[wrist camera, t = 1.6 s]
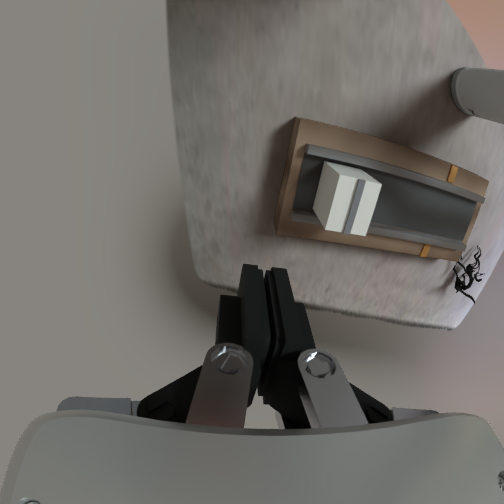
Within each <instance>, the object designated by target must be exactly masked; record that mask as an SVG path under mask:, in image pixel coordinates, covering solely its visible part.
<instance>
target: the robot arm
mask: <svg viewBox="0 0 504 504" xmlns="http://www.w3.org/2000/svg"><path fill="white" fill-rule="evenodd" d="M257 388H258V396H263V403H264V404H270V406H271V407H272V408H274V409H275V410H276V413H275V414H276V420H277V423H278V427H279V429H246V428H244V423H245V416H246V409H247V407H249V406H250V405H251V404H252V401H253V398H254V395H255V391H256V389H257ZM40 503H41V504H504V448H503V446H502V444H501V442H500V440H499V438H498V437H497V435H496V433H495V431H494V430H493V428H492V427H491V425H490V424H489V423H488V422H487V421H486V420H484V419H483V418H481V417H479V416H476V415H472V414H466V413H438V412H437V411H433V410H420V409H406V408H396V407H392V409H391V410H389V409H388V408H387V407H386V406H385V405H384V404H382V403H381V402H379V401H377V400H376V399H374V398H373V397H371V396H370V395H368V394H366V393H365V392H363V391H362V390H360V389H359V388H357V387H355V386H354V385H352V384H351V383H349V382H348V380H347V378H346V376H345V374H344V372H343V370H342V368H341V366H340V364H339V362H338V360H337V359H336V358H335V357H334V356H333V355H332V354H330V353H328V352H327V351H324V350H321V349H316V347H315V343H314V339H313V336H312V332H311V328H310V325H309V321H308V317H307V314H306V310H305V306H304V304H303V303H297V302H295V301H294V297H293V293H292V289H291V285H290V281H289V277H288V273H287V270H286V269H283V268H275V267H272V268H271V271H269V270H266V273H265V277H263V270H260V269H258V266H257V265H250V264H243V267H242V272H241V278H240V284H239V290H238V295H237V296H228V295H220V301H219V310H218V317H217V328H216V342H215V346H213V347H212V348H210V349H209V350H208V352H207V354H206V357H205V360H204V363H203V365H202V366H200V367H198V368H197V369H195V370H193V371H191V372H190V373H188V374H186V375H185V376H183V377H181V378H179V379H177V380H176V381H174V382H172V383H170V384H168V385H167V386H165V387H163V388H161V389H160V390H158V391H156V392H154V393H152V394H150V395H148V396H147V397H146V398H144V399H143V400H141V401H131V399H130V398H94V397H93V398H92V397H69V398H67V399H65V400H63V401H62V402H61V403H60V404H59V405H58V409H57V411H56V412H52V413H47V414H44V415H42V416H39V417H37V418H36V419H34V420H33V421H32V422H31V423H30V424H29V425H28V426H27V428H26V429H25V430H24V432H23V434H22V435H21V437H20V439H19V441H18V443H17V445H16V447H15V450H14V452H13V455H12V457H11V460H10V462H9V465H8V468H7V472H6V475H5V478H4V482H3V486H2V489H1V493H0V504H40Z"/></svg>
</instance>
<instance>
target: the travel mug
mask: <svg viewBox="0 0 504 504" xmlns="http://www.w3.org/2000/svg"><path fill="white" fill-rule="evenodd" d="M451 93H452V97H453V99H454V102H455V104H456V105H457V107H458V108H459V109H460V110H461V111H462V112H463V113H465V114H467V115H471V116H476V117H479V118H483V119H487V120H491V121H494V122H498V123H501V124H504V70H495V69H482V68H460V69H458V70H457V71H456V72H455V74H454V75H453V78H452V81H451Z"/></svg>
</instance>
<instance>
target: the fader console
mask: <svg viewBox="0 0 504 504" xmlns="http://www.w3.org/2000/svg"><path fill="white" fill-rule="evenodd" d="M324 161H327V162H331V163H336V164H340V165H345V166H349V167H353V168H357V169H361V170H363V171H364V172H366V173H367V174H368V175H370V176H371V177H373V178H374V179H375V180H377V181H378V182H379V183H381V184H382V186H381V189H380V193H379V196H378V199H377V202H376V206H375V209H374V212H373V215H372V218H371V221H370V224H369V227H368V230H367V233H366V236H361V235H355V234H350V235H348V234H344V233H343V232H336V231H330V230H325V229H324V227H323V225H322V224H321V222H320V220H319V218H318V217H317V215H316V213H315V212H314V210H313V205H314V201H315V197H316V193H317V189H318V185H319V181H320V177H321V173H322V168H323V164H324ZM488 183H489V181H488V180H486V179H484V178H482V177H480V176H478V175H476V174H474V173H472V172H470V171H467V170H465V169H463V168H461V167H458V166H456V165H453V164H451V163H448V162H446V161H443V160H441V159H438V158H436V157H433V156H431V155H428V154H425V153H422V152H420V151H417V150H414V149H411V148H408V147H405V146H402V145H399V144H396V143H393V142H390V141H387V140H384V139H381V138H377V137H374V136H371V135H367V134H364V133H360V132H357V131H353V130H349V129H345V128H342V127H338V126H334V125H330V124H325V123H321V122H317V121H312V120H308V119H303V118H298V117H295V120H294V125H293V130H292V135H291V140H290V145H289V150H288V155H287V160H286V165H285V170H284V175H283V180H282V185H281V189H280V194H279V199H278V204H277V209H276V213H275V218H274V226H275V230H276V234H279V235H287V236H294V237H301V238H308V239H315V240H322V241H329V242H336V243H342V244H349V245H356V246H362V247H369V248H375V249H382V250H388V251H395V252H401V253H407V254H413V255H420V256H422V257H432V258H438V259H444V260H450V261H455V262H458V261H459V259H460V256H461V254H462V252H463V251H465V249H466V247H467V246H466V243H467V240H468V238H469V235H470V233H471V231H472V228H473V225H474V223H475V220H476V218H477V215H478V212H479V210H480V207H481V204H483V203H484V200H485V198H484V195H485V192H486V189H487V186H488Z"/></svg>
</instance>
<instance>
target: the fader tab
mask: <svg viewBox="0 0 504 504" xmlns="http://www.w3.org/2000/svg"><path fill="white" fill-rule="evenodd" d="M381 186H382V184H381V183H379V182H378V181H377V180H375V179H374V178H373V177H371V176H370V175H368V174H367V173H366V172H364V171H363V170H361V169H357V168H353V167H349V166H345V165H340V164H336V163H331V162H327V161H324V164H323V168H322V173H321V177H320V181H319V185H318V189H317V193H316V197H315V201H314V205H313V210H314V212H315V213H316V215H317V217H318V218H319V220H320V222H321V224H322V225H323V227H324V229H325V230H330V231H336V232H343V233H344V234H348V235H350V234H355V235H361V236H366V233H367V230H368V227H369V224H370V221H371V218H372V215H373V212H374V209H375V206H376V202H377V199H378V196H379V193H380V189H381Z"/></svg>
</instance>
